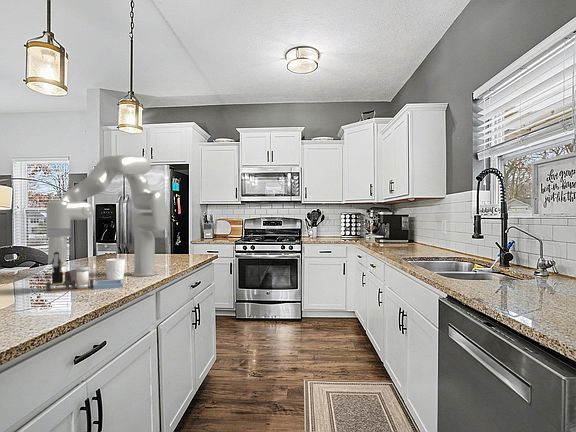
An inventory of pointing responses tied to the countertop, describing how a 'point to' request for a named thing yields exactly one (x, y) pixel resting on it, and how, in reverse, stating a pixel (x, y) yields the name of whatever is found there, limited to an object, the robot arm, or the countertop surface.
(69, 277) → the perforated stone tool
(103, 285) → the tray
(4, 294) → the countertop surface
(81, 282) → the grey rounded cylinder
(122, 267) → the white cup
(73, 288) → the fuse holder
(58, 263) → the marked fuse
